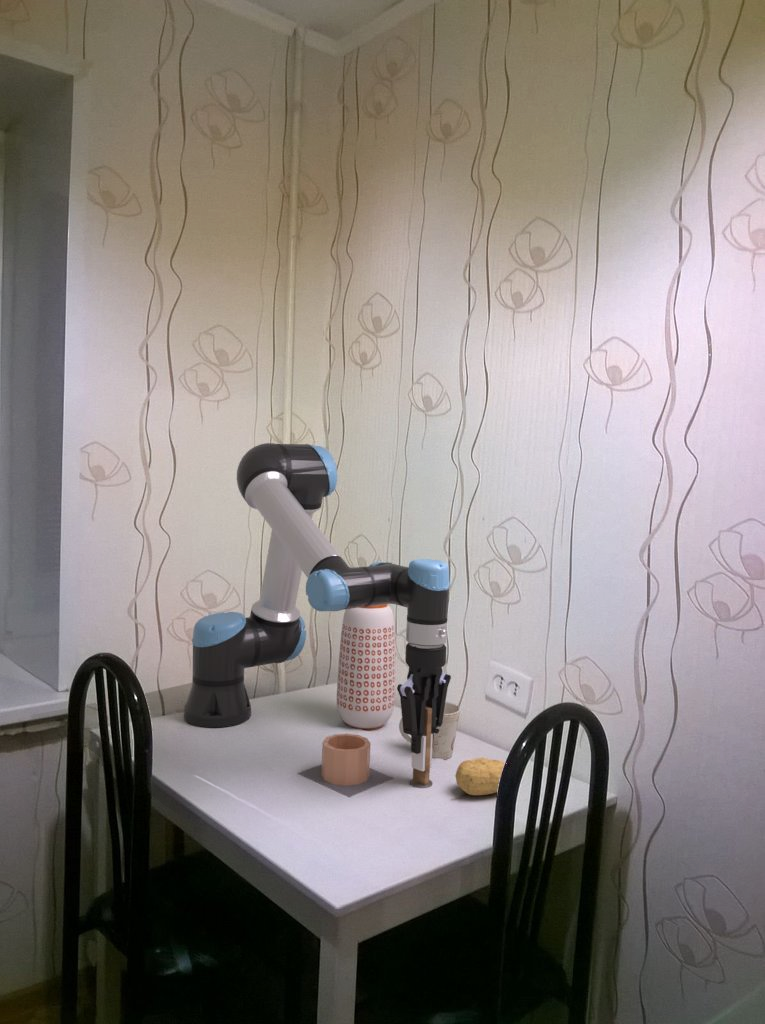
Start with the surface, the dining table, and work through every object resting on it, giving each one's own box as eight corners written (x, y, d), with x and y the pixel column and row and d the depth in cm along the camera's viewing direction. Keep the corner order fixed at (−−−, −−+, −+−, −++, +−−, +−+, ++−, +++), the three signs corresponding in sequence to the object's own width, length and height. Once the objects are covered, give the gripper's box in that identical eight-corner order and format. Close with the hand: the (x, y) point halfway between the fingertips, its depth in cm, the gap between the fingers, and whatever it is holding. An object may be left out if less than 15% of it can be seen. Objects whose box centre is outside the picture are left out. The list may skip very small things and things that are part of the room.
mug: (455, 764, 156) (457, 715, 155) (394, 757, 158) (395, 709, 157) (459, 749, 164) (461, 703, 163) (401, 743, 166) (403, 697, 165)
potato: (448, 788, 144) (449, 755, 144) (502, 782, 148) (504, 750, 147) (462, 803, 138) (463, 769, 138) (518, 798, 141) (520, 764, 141)
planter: (324, 721, 178) (327, 600, 175) (367, 710, 187) (371, 594, 184) (361, 738, 168) (366, 610, 166) (406, 725, 177) (410, 603, 175)
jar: (312, 774, 147) (313, 741, 147) (345, 762, 154) (346, 730, 153) (345, 789, 141) (346, 755, 141) (378, 776, 148) (379, 742, 147)
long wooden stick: (404, 784, 145) (407, 706, 144) (419, 778, 148) (422, 701, 147) (422, 792, 142) (425, 712, 141) (437, 785, 145) (440, 707, 144)
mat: (297, 775, 148) (297, 773, 148) (342, 758, 157) (342, 756, 157) (349, 799, 138) (349, 796, 138) (393, 779, 147) (393, 777, 147)
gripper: (417, 654, 135) (412, 784, 137) (465, 641, 146) (460, 763, 148) (385, 645, 140) (380, 771, 142) (434, 634, 151) (429, 751, 153)
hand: (421, 767), depth 145 cm, fingers closed on long wooden stick, 1 cm apart
